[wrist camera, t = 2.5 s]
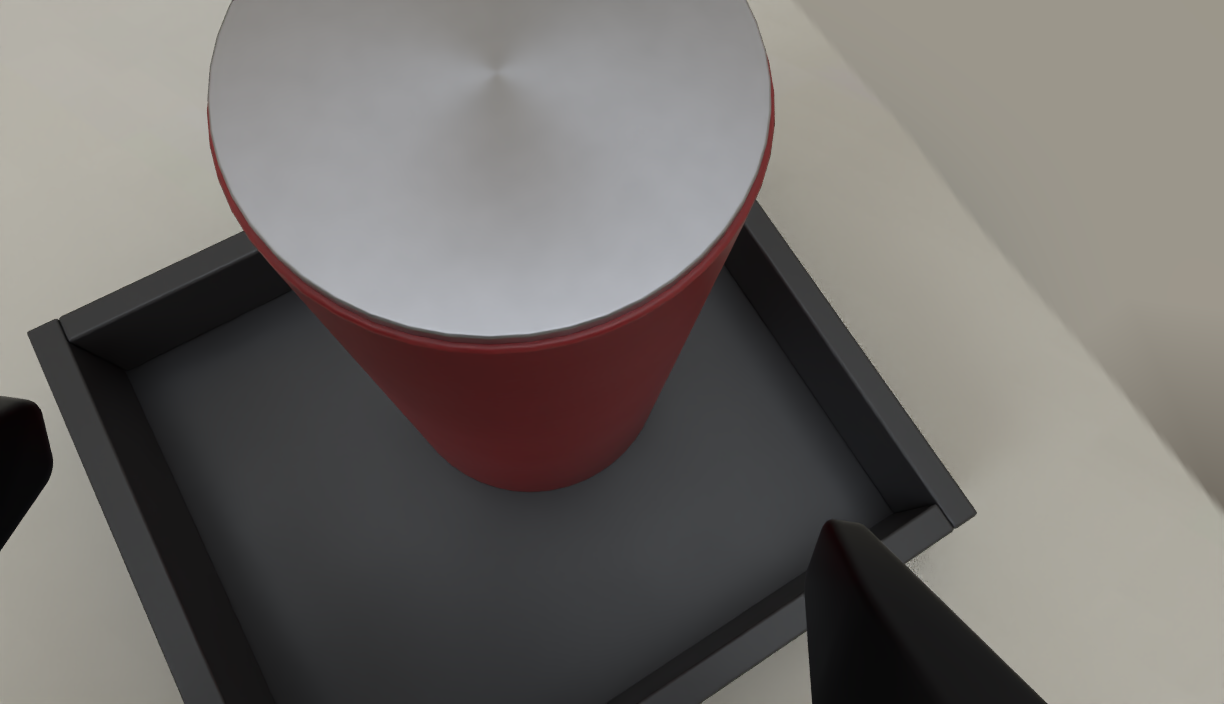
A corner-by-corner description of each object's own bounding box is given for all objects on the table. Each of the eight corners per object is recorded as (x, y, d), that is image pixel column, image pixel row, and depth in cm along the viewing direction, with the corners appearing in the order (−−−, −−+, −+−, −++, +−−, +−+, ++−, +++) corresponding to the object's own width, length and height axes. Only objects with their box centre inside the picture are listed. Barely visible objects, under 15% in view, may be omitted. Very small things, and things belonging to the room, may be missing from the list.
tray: (341, 915, 17) (299, 977, 14) (98, 367, 20) (25, 331, 18) (923, 524, 20) (979, 513, 18) (635, 105, 24) (645, 40, 21)
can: (482, 542, 19) (358, 466, 8) (362, 322, 21) (105, -26, 9) (705, 409, 21) (893, 172, 9) (578, 211, 22) (596, -216, 10)
